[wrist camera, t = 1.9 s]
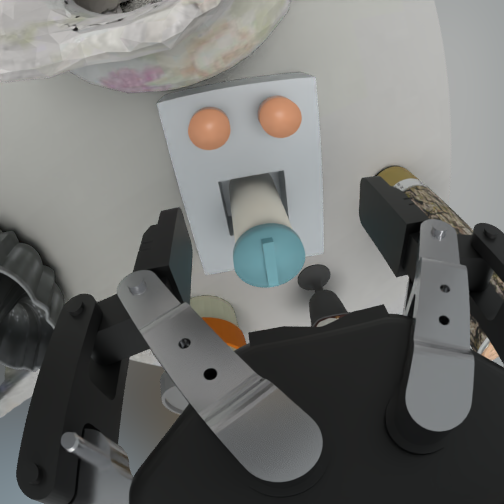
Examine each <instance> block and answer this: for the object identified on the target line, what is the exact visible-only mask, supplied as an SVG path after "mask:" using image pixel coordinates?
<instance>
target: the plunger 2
mask: <svg viewBox="0 0 504 504" xmlns="http://www.w3.org/2000/svg"><path fill="white" fill-rule="evenodd" d="M258 120H259V122H260V124H261V126H262V128H263V129H264V131H265V132H266V133H267V134H269V135H270V136H273V137H276V138H285V137H289V136H291V135H292V134H294V133H295V132H296V131H297V130H298V128H299V127H300V124H301V121H302V115H301V111H300V109H299V107H298V106H297V105H296V104H295V103H294V102H292V101H291V100H290V99H288V98H286V97H284V96H279V95H277V96H271V97H269V98H267V99H265V100H264V101H263V102H262V103H261V105H260V106H259V109H258Z"/></svg>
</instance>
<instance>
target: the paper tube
mask: <svg viewBox="0 0 504 504" xmlns="http://www.w3.org/2000/svg"><path fill="white" fill-rule="evenodd" d="M377 176H380V177H382V178H383V179H384V180H385V181H386V182H387V183H388V184H389V185H390V186H394V187H395V188H397V189H399V190H401V191H403V192H404V193H405V194H406V195H407V196H408V197H409V199H411V200H412V201H413V202H414V203H415V204H416V205H417V206H418V207H419V208H420V209H421V210H422V211H423V212H424V213H425V214H426V215H427V216H428V217H429V218H430V219H436V220H441V221H444V222H446V223H448V224H450V225H451V226H452V227H453V228H454V229H455V231H456V233H457V234H465V235H472V233H473V230H472V229H471V228H470V227H469V226H468V225H467V224H466V223H465V222H464V221H463V220H462V219H461V218H460V217H459V216H458V215H457V214H456V213H455V212H454V211H453V210H452V209H451V208H450V207H449V206H448V205H447V204H446V203H445V202H444V201H442V200H441V199H440V198H439V197H438V196H437V195H436V194H435V193H434V192H433V191H431V190H430V189H429V188H428V187H427V186H426V185H425V184H424V183H422V182H421V181H420V180H419V179H417V178H416V177H415V176H414V175H413V174H412V173H410V172H409V171H408V170H406V169H405V168H402V167H397V166H396V167H390V168H387V169H385V170H383V171H382V172H380V173H379V174H378V175H377ZM489 283H490V284H491V285H492V286H493V288H494V289H495V290H496V292H497V293H498V294H499V295H500V297H501V298H502V299H503V301H504V283H503V282H502V280H501V279H500V278H499V277H498V276H497V274H496V273H495V272H493V275H492V277H491V279H490V282H489ZM470 346H471V347H472V349H473V350H474V351H475V352H477V353H479V354H481V355H483V356H484V357H486V358H488V359H490V360H491V361H492V360H494V359H496V358H497V357H499V355H498V354H497V352H496V350H495V349H494V347H493V345H492V344H491V342H490V341H489V339H488V337H487V336H486V334H485V333H484V331H483V330H482V328H481V326H480V325H479V323H478V322H477V320H476V319H475V317H474V316H473V314H472V313H471V312H470Z"/></svg>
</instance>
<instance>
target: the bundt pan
mask: <svg viewBox="0 0 504 504" xmlns="http://www.w3.org/2000/svg"><path fill="white" fill-rule="evenodd" d="M63 307H64V298H63V295H62V292H61V290H60V288H59V287H58V285H57V284H56V283H55V273H54V271H53V270H52V268H50V267H48V266H45V265H43V264H42V260H41V258H40V256H39V254H38V252H37V251H36V250H35V249H34V248H33V247H31V246H30V245H28V244H24V243H19V241H18V239H17V236H16V234H15V233H14V232H13V231H8V232H3V233H2V231H1V230H0V363H1V364H3V365H5V366H7V367H10V368H13V369H27V370H29V371H32V372H36V371H37V369H40V368H41V365H42V362H43V359H44V356H45V353H46V350H47V347H48V344H49V342H50V339H51V336H52V333H53V331H54V328H55V325H56V323H57V320H58V318H59V315H60V312H61V310H62V308H63Z"/></svg>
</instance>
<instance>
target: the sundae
mask: <svg viewBox="0 0 504 504" xmlns="http://www.w3.org/2000/svg"><path fill="white" fill-rule="evenodd" d="M329 278H330V271H329V269H328V268H327V267H325V266H323V265H312V266H310V267H307V268H306V269H304V270H303V271H302V272H301V273H300V275H299V277H298V284H299V285H300V287H302V288H303V289H305V290H315V294H314V295H313V296H312V298H311V299H310V302H309V310H310V318H311V325H312V326H311V327H320V326H324V325H326V324H329V323H331V322H333V321H335V320H337V319H339V318H341V317H343V316H346V315H348V314H350V313H351V312H347V310H346V309H345V307H344V306H343V304H342V302H341V301H340V299H339V298H338V297H337V295H336V294H335V293H334V292H332V291H328V290H323V288H322V287H323V286H324V285H325V284H326V283H327V282H328V280H329Z"/></svg>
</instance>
